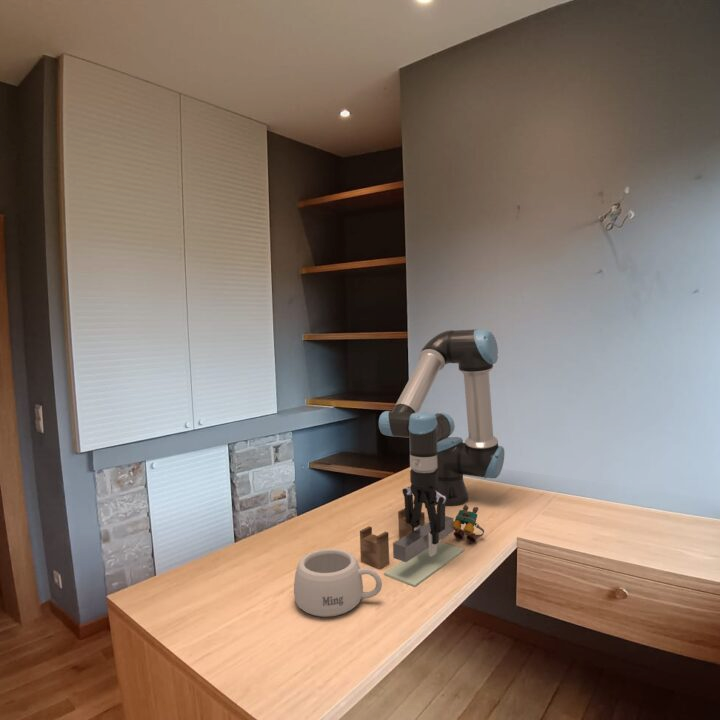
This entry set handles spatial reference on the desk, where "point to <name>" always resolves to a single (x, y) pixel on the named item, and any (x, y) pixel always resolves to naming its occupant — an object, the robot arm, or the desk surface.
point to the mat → (423, 564)
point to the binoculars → (469, 520)
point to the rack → (382, 542)
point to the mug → (331, 582)
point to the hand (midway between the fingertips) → (425, 551)
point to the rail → (418, 541)
